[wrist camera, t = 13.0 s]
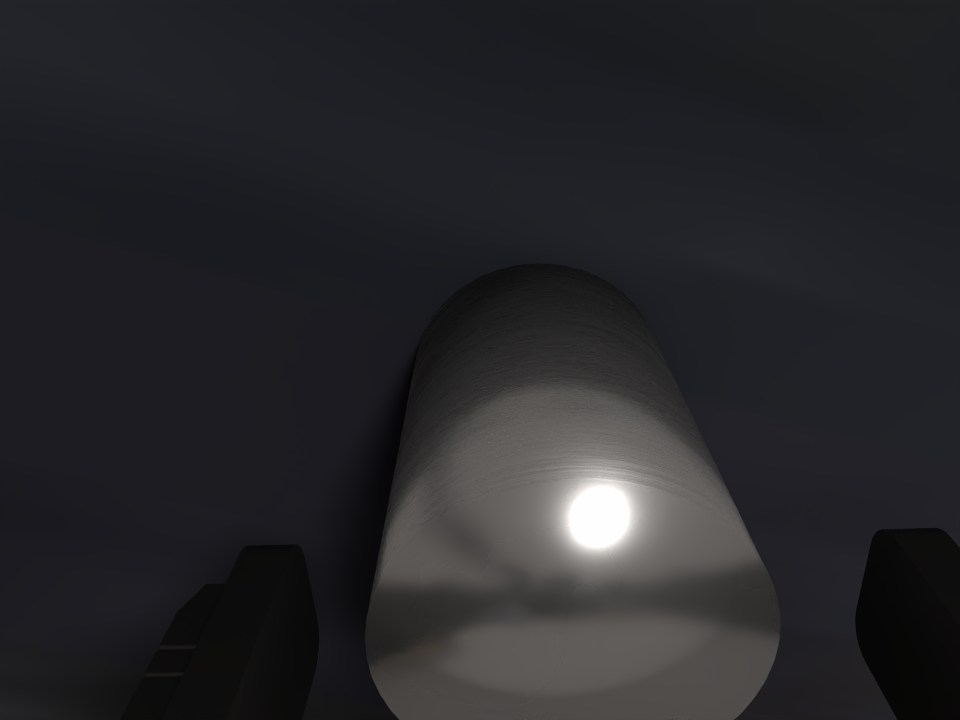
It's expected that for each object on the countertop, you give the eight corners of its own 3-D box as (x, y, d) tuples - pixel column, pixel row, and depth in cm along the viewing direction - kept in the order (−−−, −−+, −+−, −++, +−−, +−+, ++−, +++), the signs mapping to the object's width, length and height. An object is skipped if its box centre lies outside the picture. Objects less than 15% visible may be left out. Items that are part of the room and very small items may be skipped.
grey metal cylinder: (401, 271, 14) (334, 492, 8) (663, 255, 14) (807, 469, 8) (426, 484, 16) (390, 788, 10) (653, 473, 16) (757, 774, 10)
